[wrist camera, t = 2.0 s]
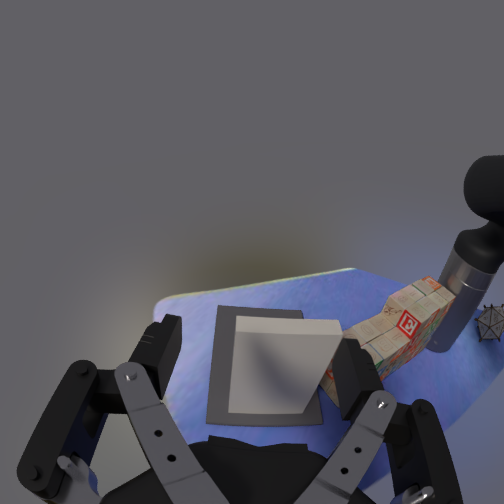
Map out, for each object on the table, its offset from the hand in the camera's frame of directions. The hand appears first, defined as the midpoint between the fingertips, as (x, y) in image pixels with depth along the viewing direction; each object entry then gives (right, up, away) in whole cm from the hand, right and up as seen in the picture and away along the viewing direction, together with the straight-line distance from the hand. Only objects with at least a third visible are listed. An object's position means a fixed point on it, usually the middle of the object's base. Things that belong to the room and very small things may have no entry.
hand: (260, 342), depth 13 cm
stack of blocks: (+19, -13, +25) cm, 34 cm away
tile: (+1, -15, +17) cm, 22 cm away
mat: (+1, -11, +24) cm, 27 cm away
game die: (+49, -14, +29) cm, 59 cm away
